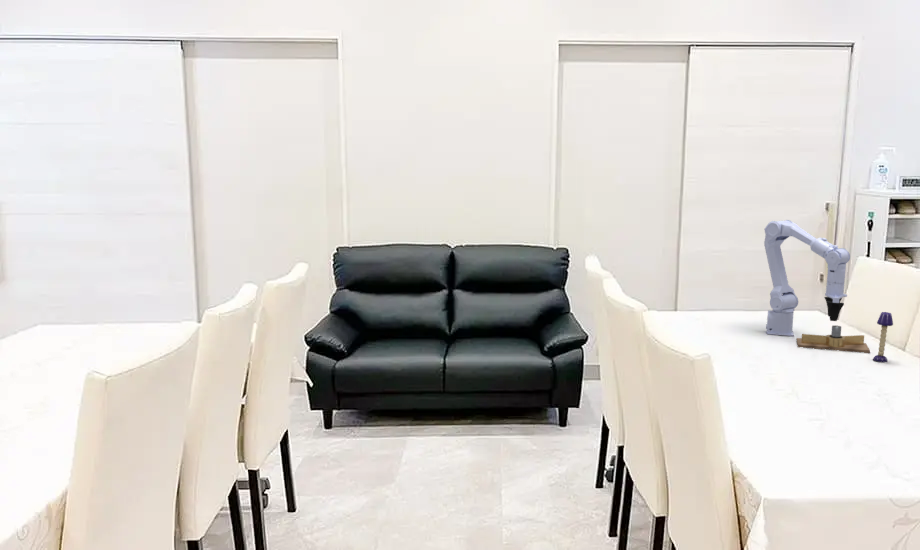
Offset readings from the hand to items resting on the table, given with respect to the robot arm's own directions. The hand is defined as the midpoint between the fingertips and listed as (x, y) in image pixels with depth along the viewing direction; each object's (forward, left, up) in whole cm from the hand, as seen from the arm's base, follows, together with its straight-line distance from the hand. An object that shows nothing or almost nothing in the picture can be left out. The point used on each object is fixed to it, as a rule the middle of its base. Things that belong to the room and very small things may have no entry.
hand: (832, 318), depth 266 cm
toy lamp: (+14, -18, -10) cm, 25 cm away
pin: (+1, -5, -9) cm, 10 cm away
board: (0, -3, -10) cm, 10 cm away
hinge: (0, -4, -9) cm, 9 cm away
